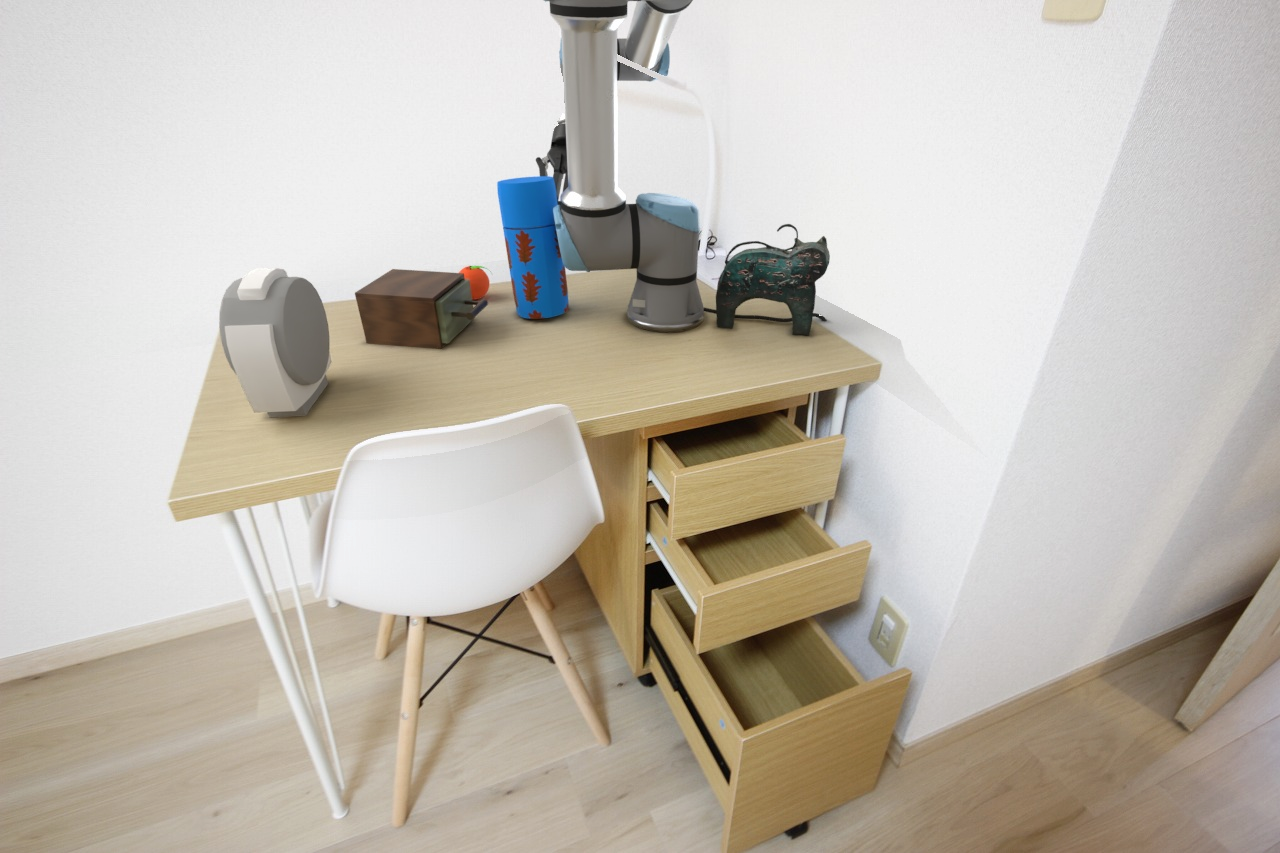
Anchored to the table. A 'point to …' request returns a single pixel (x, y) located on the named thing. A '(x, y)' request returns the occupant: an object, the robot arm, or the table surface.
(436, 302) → the drawer
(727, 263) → the ceramic cat
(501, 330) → the table surface
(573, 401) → the table surface
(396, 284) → the cabinet
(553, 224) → the thermos
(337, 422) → the table surface
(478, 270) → the clementine
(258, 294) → the alarm clock
